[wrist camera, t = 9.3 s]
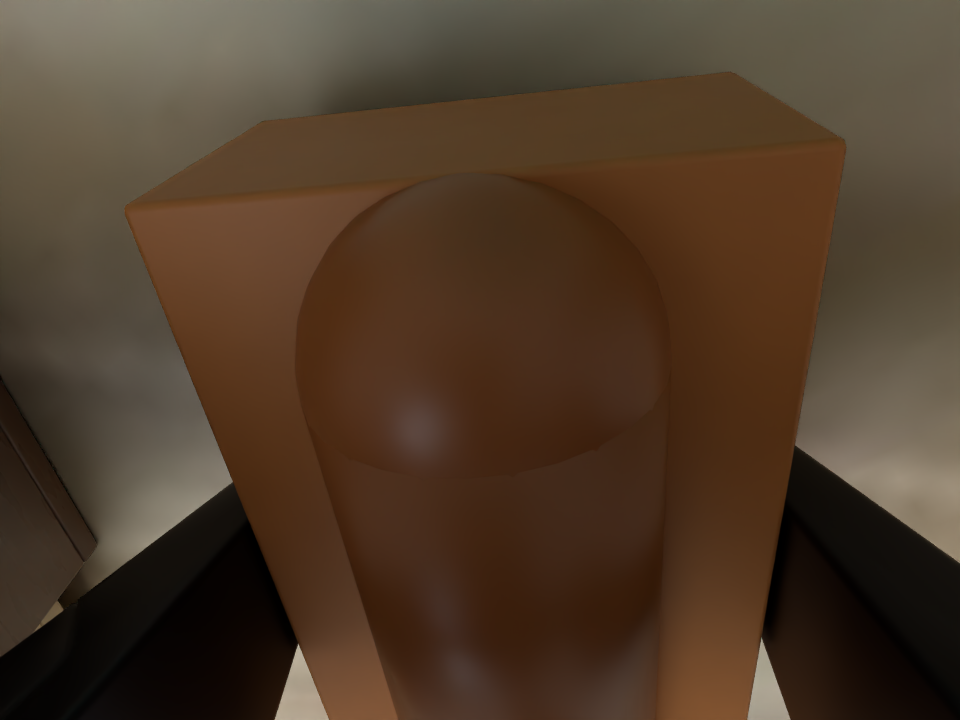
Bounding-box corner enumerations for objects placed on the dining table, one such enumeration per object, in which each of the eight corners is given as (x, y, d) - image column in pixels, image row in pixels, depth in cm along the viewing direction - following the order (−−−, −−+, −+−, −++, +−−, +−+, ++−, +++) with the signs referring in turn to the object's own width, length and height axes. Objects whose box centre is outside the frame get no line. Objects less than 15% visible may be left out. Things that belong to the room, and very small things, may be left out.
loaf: (691, 601, 12) (771, 935, 8) (392, 605, 13) (323, 914, 9) (736, 69, 7) (982, 215, 3) (259, 120, 8) (-28, 293, 4)
